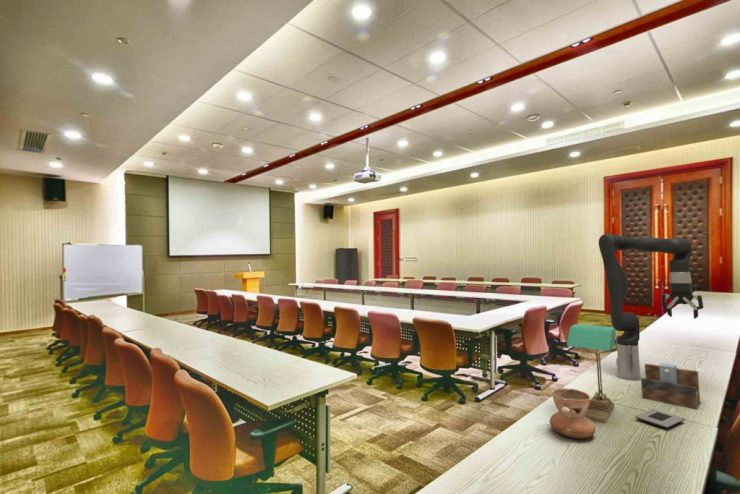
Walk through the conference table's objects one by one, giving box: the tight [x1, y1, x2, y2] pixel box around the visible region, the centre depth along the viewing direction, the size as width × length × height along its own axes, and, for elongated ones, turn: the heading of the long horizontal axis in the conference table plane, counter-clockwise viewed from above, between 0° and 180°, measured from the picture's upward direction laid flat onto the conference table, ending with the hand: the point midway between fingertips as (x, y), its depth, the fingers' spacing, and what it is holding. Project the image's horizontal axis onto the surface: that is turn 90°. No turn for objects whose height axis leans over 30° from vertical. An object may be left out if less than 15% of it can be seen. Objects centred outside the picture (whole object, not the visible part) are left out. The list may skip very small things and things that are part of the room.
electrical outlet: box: [634, 408, 686, 429], centre depth 138 cm, size 13×10×2 cm
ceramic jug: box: [549, 387, 596, 439], centre depth 132 cm, size 18×14×14 cm
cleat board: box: [640, 363, 701, 410], centre depth 157 cm, size 18×10×13 cm, turn 42°
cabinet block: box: [658, 362, 678, 384], centre depth 157 cm, size 5×6×10 cm
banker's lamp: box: [566, 323, 618, 424], centre depth 148 cm, size 16×21×35 cm
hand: (682, 317), depth 166 cm, fingers open, 8 cm apart
